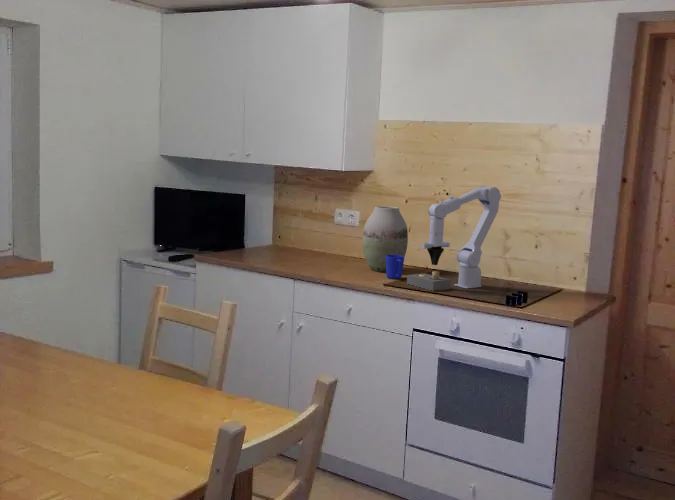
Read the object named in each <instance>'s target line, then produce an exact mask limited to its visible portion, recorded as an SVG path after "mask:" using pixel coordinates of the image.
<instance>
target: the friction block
mask: <svg viewBox="0 0 675 500" xmlns="http://www.w3.org/2000/svg"><path fill="white" fill-rule="evenodd" d="M419 275H426V277H420V276H419ZM451 281H452V280H451V279H450V278H449V279H448V278H444V277H441V276H439V280H433V279H432V274H428V273H425V272H424V273H415V274H407V277H406V285H408V284H410V285H409V286H412V285H414V286H413V287H416V286H417V287H416V288H419V287H421V288H420V289H423V288H425V289H424V290H427V289H428V290H427V291H431V290H432V292H435V291H434V290H438V291H444V290H450V289H451V283H452V282H451Z"/></svg>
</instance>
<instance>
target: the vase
mask: <svg viewBox="0 0 675 500" xmlns="http://www.w3.org/2000/svg"><path fill="white" fill-rule="evenodd" d="M408 232H409V231H408V225H407V223H406V221H405V219H404V217H403V216H402V214H401V211H400V208H399V207H396V206H386V205H385V206H384V205H381V206H380V205H379V206H375V207H374V209H373V211H372V212H371V213H370V215H369V216H368V218H367V220H366V221H365V224H364V227H363V234H362V249H363V255H364V258H365V261H366V263H367V264H368V267H369V268H370V270H371V271H373V272H378V273H386V255H401V256H404V258H406V257H405V256H406V253H407V248H408V243H409V237H408Z"/></svg>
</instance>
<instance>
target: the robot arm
mask: <svg viewBox="0 0 675 500" xmlns="http://www.w3.org/2000/svg"><path fill="white" fill-rule="evenodd" d="M501 198H502V193H501V191H500V189H499V188H497V187H492V186H485V185H481V186H479V187H475V188H473V189H472V190H470V191H468V192H466V193H464V194H462V195H460V196H458V197H456V196H453V195H452V196H448V198H447V199H444V200H440V201H439V202H438V203H433V204H431V205H430V206H429V209H428V210H427V213H428V215H429V233H428V234H429V236H428V241H427V242H424V243H421V246H420V249H425V250H427V252H428V254H429V257H430V261H431V265H432V266H438V265H439V261H440V257H441V255H442V254H443V252H444V251H445V248H450V246H451V242H448V241H444V227H445V218H446V217H447V216H448V214H449V215H450V214H451V213H453V212H455V211H457V210H460V209H461V206H462V205H465V204H468V203H469V202H472V201H475V200H478V201H479V202H480V204H481V205H482V206H483V212H482V214H481V216H480V218H479V220H478V222H477V225H476V227H475V229H474V230H473V233H472V234H471V236H470V239H469V240H468V242H467V243H466V244H464V245H463V246H462V248H461V249H460V250H459V251H458V252H457V254H456V260H457V262H458V265H459V266H458V267H459V268H458V281H457V283H454V284H453V286H454V287H455V286H456V287H459V288H464V289H474V288H482V287H483V286H482V285H481V282H482V280H481V279H482V270H481V267H479V266H478V265H479V264H480V262H481V256H482V254H483V252H482V249H481V247H482V246H483V243H484V240H485V239H486V237H487V235H488V233H489V231H490V229H491V227H492V224H493V222H494V221H495V218H496V217H497V214H498V213H499V210H500V209H499V206H500V200H501Z"/></svg>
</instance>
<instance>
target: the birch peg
mask: <svg viewBox="0 0 675 500" xmlns="http://www.w3.org/2000/svg"><path fill="white" fill-rule="evenodd" d="M431 275H432V279H433V280H439V277H440V271H436V270H435V271H432V272H431Z"/></svg>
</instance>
